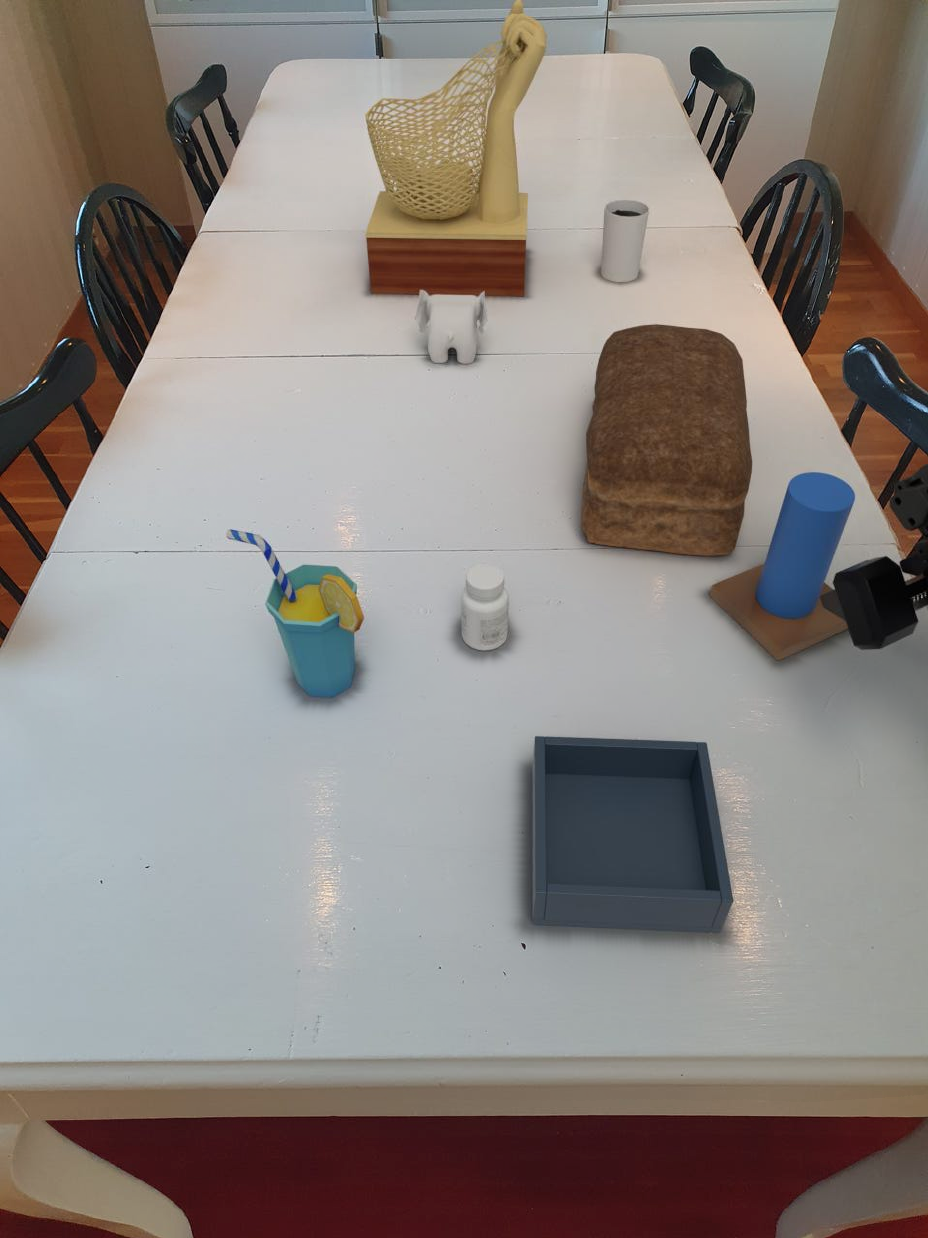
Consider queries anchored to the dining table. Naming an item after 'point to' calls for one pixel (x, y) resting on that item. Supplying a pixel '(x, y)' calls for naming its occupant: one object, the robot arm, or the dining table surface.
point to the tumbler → (804, 543)
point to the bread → (667, 442)
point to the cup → (313, 620)
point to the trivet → (770, 629)
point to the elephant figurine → (451, 324)
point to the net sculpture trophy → (456, 182)
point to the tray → (627, 836)
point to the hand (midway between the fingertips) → (863, 583)
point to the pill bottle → (484, 608)
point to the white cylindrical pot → (623, 239)
